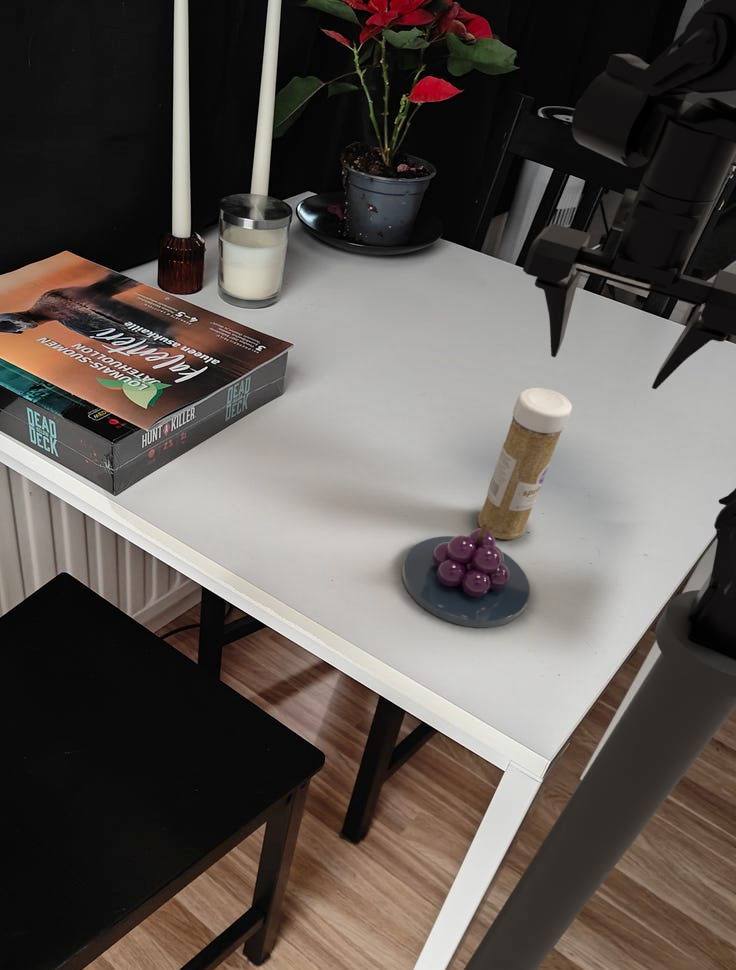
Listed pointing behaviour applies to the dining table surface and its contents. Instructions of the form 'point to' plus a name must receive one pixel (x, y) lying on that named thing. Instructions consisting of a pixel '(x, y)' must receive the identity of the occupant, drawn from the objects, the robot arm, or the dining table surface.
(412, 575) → the grapes
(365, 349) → the dining table surface
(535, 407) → the sprinkles bottle
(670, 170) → the robot arm
